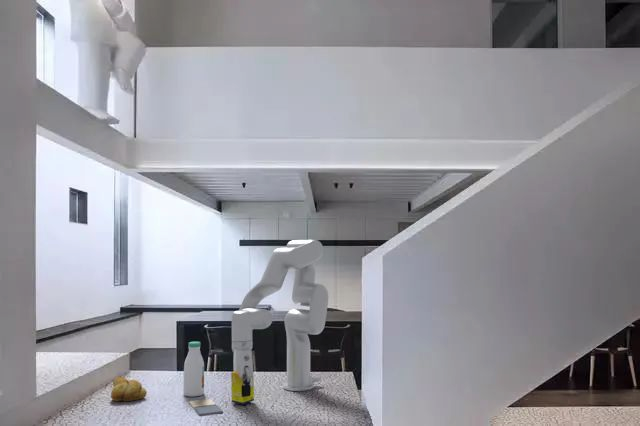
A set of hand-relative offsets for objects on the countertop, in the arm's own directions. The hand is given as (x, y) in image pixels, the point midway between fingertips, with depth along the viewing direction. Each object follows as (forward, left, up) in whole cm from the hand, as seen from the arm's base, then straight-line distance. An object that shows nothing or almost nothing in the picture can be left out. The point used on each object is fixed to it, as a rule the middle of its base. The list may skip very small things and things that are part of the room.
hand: (242, 393), depth 201 cm
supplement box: (0, 0, -3) cm, 3 cm away
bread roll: (+37, -23, -4) cm, 44 cm away
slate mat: (+14, +5, -4) cm, 15 cm away
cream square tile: (+14, -5, -4) cm, 15 cm away
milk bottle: (+14, -20, -4) cm, 24 cm away
